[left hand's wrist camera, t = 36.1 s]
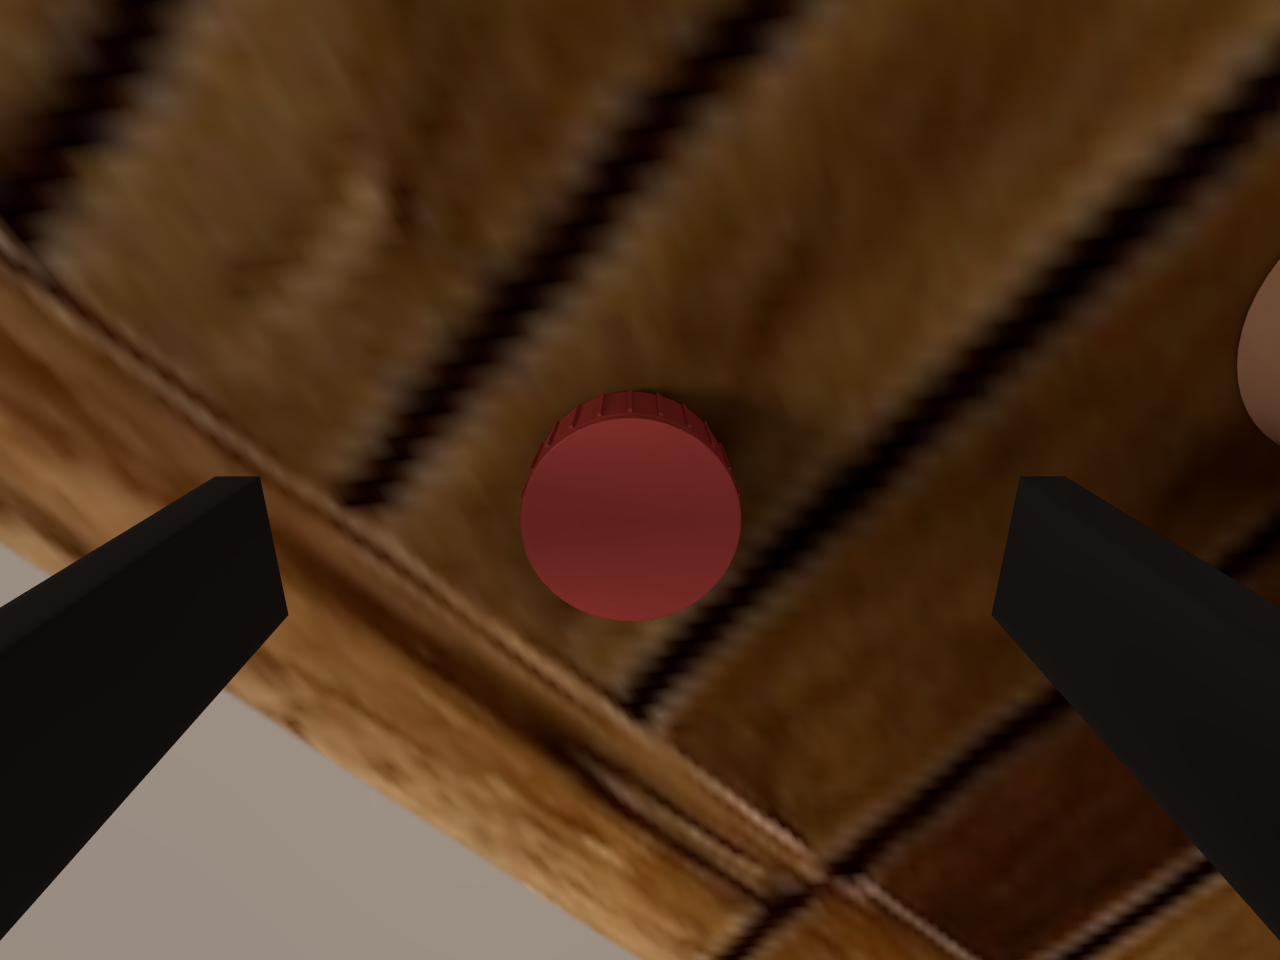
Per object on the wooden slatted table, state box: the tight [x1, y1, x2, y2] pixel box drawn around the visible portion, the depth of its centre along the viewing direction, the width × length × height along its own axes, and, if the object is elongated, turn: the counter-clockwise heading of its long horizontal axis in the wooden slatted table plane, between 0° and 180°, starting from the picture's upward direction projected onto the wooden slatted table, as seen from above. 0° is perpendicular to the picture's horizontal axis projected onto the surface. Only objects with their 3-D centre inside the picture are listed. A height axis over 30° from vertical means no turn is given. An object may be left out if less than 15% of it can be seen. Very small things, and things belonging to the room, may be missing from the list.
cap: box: [520, 390, 741, 621], centre depth 15 cm, size 5×5×2 cm
